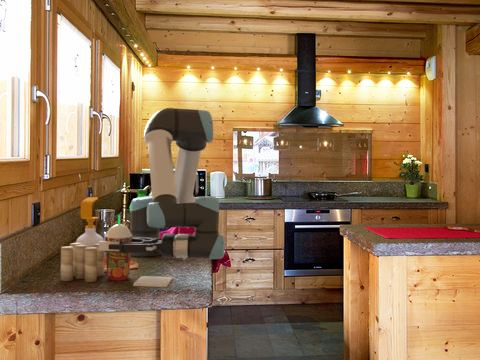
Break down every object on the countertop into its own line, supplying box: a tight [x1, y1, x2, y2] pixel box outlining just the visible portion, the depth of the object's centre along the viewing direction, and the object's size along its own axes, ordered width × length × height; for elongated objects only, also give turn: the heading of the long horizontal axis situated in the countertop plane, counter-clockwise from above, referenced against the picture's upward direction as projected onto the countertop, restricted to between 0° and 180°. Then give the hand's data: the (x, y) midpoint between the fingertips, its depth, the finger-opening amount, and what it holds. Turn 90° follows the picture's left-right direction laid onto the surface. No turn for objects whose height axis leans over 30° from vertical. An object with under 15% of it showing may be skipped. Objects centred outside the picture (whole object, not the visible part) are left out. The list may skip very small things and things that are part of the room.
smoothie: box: [104, 214, 132, 282], centre depth 148 cm, size 8×8×20 cm
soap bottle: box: [75, 196, 105, 248], centre depth 160 cm, size 9×9×25 cm
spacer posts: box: [60, 242, 106, 283], centre depth 149 cm, size 11×11×10 cm
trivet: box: [133, 275, 174, 288], centre depth 145 cm, size 10×10×1 cm
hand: (103, 243), depth 148 cm, fingers closed on smoothie, 8 cm apart
